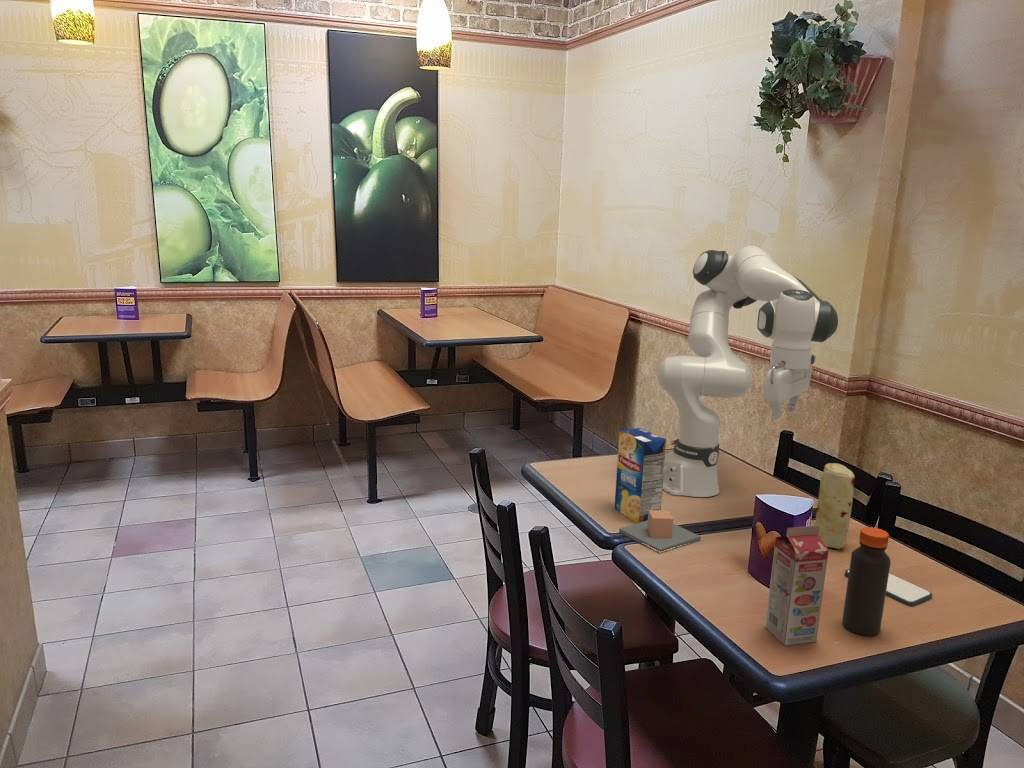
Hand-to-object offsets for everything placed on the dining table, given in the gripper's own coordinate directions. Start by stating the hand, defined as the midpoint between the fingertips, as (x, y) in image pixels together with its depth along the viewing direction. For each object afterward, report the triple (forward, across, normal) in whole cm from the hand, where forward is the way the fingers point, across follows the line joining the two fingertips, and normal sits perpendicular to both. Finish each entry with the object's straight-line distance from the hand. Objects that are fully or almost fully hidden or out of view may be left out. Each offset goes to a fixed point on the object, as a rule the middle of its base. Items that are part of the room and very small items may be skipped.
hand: (783, 415), depth 181 cm
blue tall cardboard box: (+31, -13, +31) cm, 46 cm away
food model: (+31, +5, -13) cm, 34 cm away
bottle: (+31, -30, -31) cm, 53 cm away
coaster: (+31, -21, +20) cm, 42 cm away
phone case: (+32, -8, -30) cm, 44 cm away
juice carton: (+31, -42, -21) cm, 57 cm away
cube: (+30, -21, +19) cm, 42 cm away
